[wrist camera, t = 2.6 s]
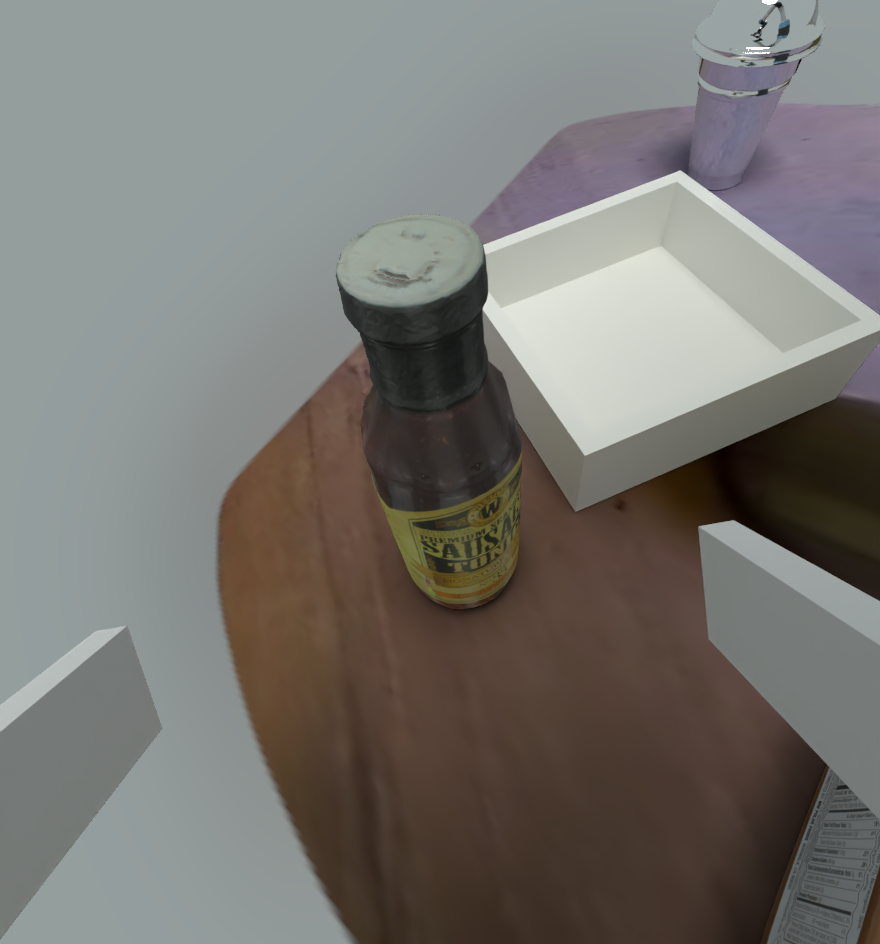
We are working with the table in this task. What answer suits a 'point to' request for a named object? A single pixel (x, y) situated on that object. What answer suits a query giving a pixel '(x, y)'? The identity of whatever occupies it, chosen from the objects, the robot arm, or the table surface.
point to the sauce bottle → (435, 405)
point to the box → (660, 334)
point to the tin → (831, 874)
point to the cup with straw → (744, 79)
